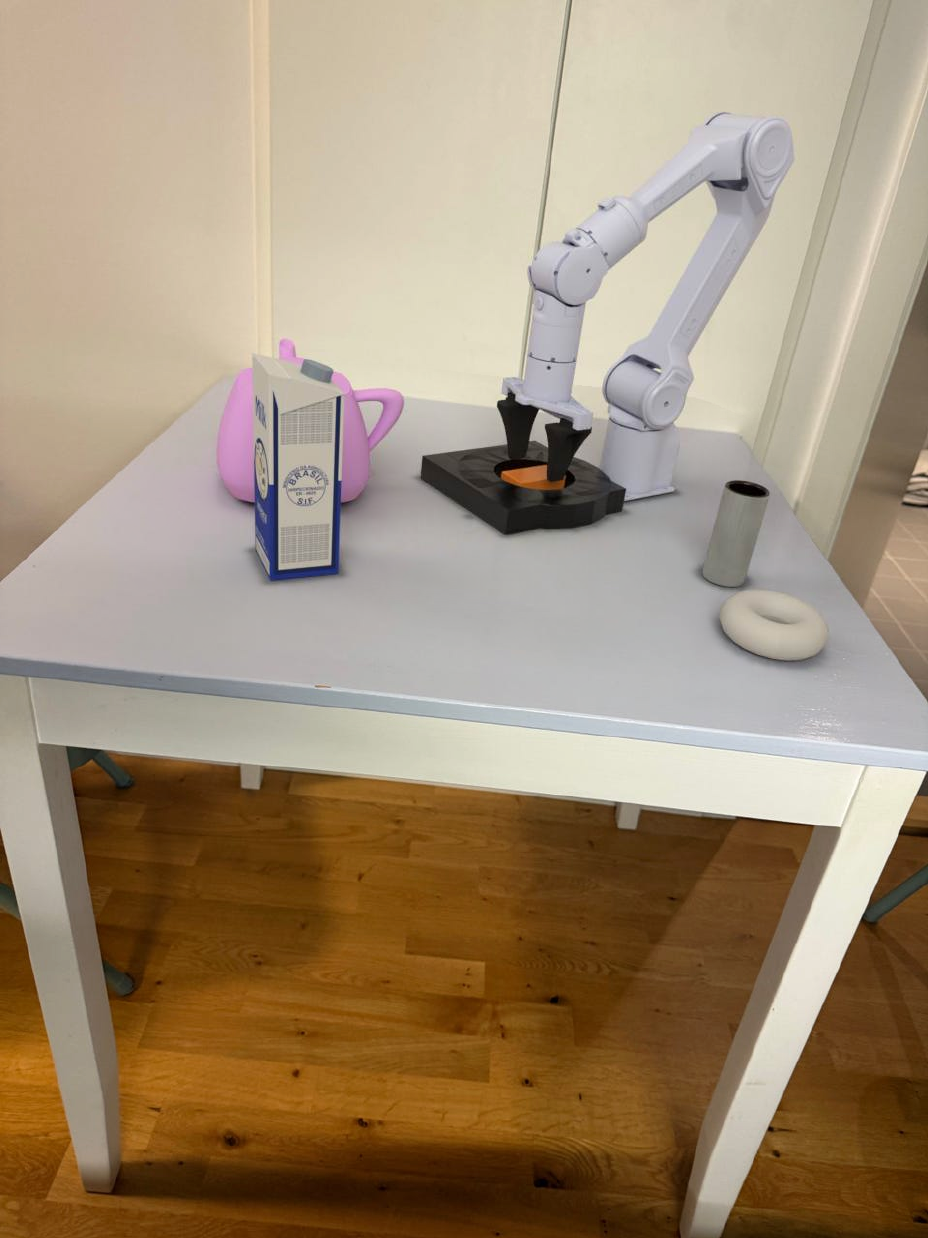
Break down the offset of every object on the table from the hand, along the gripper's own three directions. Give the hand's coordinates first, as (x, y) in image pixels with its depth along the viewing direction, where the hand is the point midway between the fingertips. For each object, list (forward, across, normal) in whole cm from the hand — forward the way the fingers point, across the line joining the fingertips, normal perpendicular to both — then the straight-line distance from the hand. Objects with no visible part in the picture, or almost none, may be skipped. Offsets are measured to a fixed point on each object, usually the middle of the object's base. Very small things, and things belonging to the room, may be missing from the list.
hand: (535, 468), depth 109 cm
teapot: (+4, -13, -26) cm, 29 cm away
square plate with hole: (+4, 0, 0) cm, 4 cm away
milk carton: (+4, +5, -34) cm, 35 cm away
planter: (+4, +26, +6) cm, 27 cm away
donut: (+4, +37, 0) cm, 37 cm away
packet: (+4, 0, 0) cm, 4 cm away
